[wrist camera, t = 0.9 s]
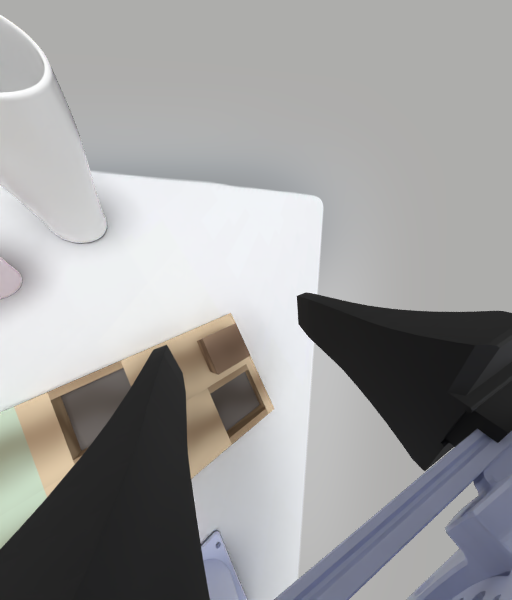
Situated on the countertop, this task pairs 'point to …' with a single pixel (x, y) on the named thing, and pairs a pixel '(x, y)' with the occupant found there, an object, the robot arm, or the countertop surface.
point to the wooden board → (99, 409)
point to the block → (223, 349)
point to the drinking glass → (43, 143)
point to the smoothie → (8, 279)
